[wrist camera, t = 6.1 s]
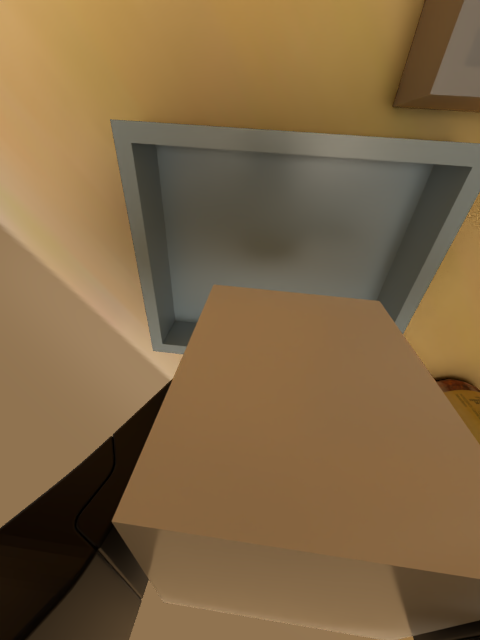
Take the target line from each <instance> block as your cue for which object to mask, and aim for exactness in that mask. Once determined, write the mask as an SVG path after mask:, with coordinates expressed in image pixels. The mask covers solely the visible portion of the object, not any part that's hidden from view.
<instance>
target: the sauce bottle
mask: <svg viewBox="0 0 480 640" xmlns="http://www.w3.org/2000/svg"><path fill="white" fill-rule="evenodd" d="M436 383H437V384H438V386H439V387H440V388H441V390H442V391H443V393H444V394H445V396H446V397H447V399H448V400H449V401H450V403H451V404H452V406H453V407H454V409H455V410H456V411H457V413H458V414H459V416H460V417H461V419H462V420H463V421H464V423H465V424H466V426H467V427H468V429H469V430H470V431H471V433H472V434H473V436H474V437H475V439H476V440H477V442H478V443H479V444H480V390H479V389H477V388H476V387H474V386H472V385H471V384H468V383H466V382H463V381H461V380H454V379H446V380H441V381H437V382H436Z"/></svg>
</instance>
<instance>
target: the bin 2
mask: <svg viewBox="0 0 480 640" xmlns="http://www.w3.org/2000/svg"><path fill="white" fill-rule="evenodd" d="M393 107H403V108H420V109H437V110H454V111H471V112H480V0H426V1H425V4H424V7H423V10H422V13H421V17H420V20H419V23H418V26H417V30H416V33H415V36H414V39H413V43H412V46H411V49H410V52H409V56H408V59H407V62H406V65H405V69H404V72H403V75H402V78H401V82H400V85H399V88H398V91H397V95H396V98H395V101H394V104H393Z"/></svg>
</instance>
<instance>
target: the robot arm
mask: <svg viewBox="0 0 480 640" xmlns="http://www.w3.org/2000/svg"><path fill="white" fill-rule="evenodd" d="M172 380H173V379H172ZM172 380H171V381H170V382H169V383H167V384H166V385H165V386H164V387H163V388H162V389H161V390H160V391H159V392H158V393H157V394H156V395H155V396H154V397H152V398H151V399H150V400H149V401H148V402H147V403H146V404H145V405H144V406H143V407H142V408H141V409H140V410H139V411H137V412H136V413H135V414H134V415H133V416H132V417H131V418H130V419H129V420H128V421H127V422H126V423H125V424H123V426H121V427H120V428H119V429H118V430H117V431H116V432H115V433H114V434H113V437H112V436H111V437H109V439H107V440H106V441H105V442H104V443H103V444H102V445H101V446H100V447H99V448H98V449H96V450H95V451H94V452H93V453H92V454H91V455H90V456H89V457H87V458H86V459H85V460H84V461H83V462H82V463H81V464H80V465H78V466H77V467H76V468H75V469H73V470H72V471H71V472H70V473H69V474H68V475H66V476H65V477H64V478H63V479H61V480H60V481H59V482H58V483H57V484H55V485H54V486H53V487H52V488H50V489H49V490H48V491H47V492H45V493H44V494H43V495H41V496H40V497H39V498H38V499H36V500H35V501H34V502H33V503H31V504H30V505H29V506H28V507H26V508H25V509H24V510H22V511H21V512H20V513H19V514H18V515H16V516H15V517H14V518H12V519H11V520H10V521H9V522H7V523H6V524H5V525H4V526H2V527H1V528H0V640H129V637H130V635H131V632H132V628H133V626H134V623H135V619H136V617H137V614H138V610H139V607H140V604H141V599H142V598H143V595H144V592H145V589H146V586H147V583H148V580H149V579H148V577H147V576H146V574H145V573H144V571H143V570H142V568H141V566H140V565H139V563H138V562H137V560H136V559H135V557H134V556H133V554H132V552H131V551H130V549H129V548H128V546H127V545H126V543H125V542H124V540H123V539H122V537H121V535H120V534H119V532H118V531H117V529H116V528H115V526H114V525H113V523H112V519H113V517H114V515H115V512H116V510H117V508H118V505H119V503H120V501H121V498H122V496H123V494H124V491H125V489H126V487H127V485H128V482H129V480H130V478H131V475H132V473H133V471H134V468H135V466H136V464H137V461H138V459H139V457H140V454H141V452H142V450H143V447H144V445H145V443H146V440H147V438H148V436H149V433H150V431H151V429H152V426H153V424H154V422H155V419H156V417H157V415H158V412H159V410H160V408H161V406H162V403H163V401H164V399H165V396H166V394H167V392H168V389H169V387H170V385H171V382H172ZM413 638H414V640H480V620H479V621H474V622H470V623H466V624H462V625H457V626H453V627H449V628H445V629H440V630H436V631H432V632H428V633H423V634H419V635H415V636H413Z"/></svg>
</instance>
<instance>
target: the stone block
mask: <svg viewBox="0 0 480 640" xmlns="http://www.w3.org/2000/svg"><path fill="white" fill-rule="evenodd" d="M112 523H113V525H114V526H115V528H116V529H117V531H118V532H119V534H120V535H121V537H122V539H123V540H124V542H125V543H126V545H127V546H128V548H129V549H130V551H131V552H132V554H133V556H134V557H135V559H136V560H137V562H138V563H139V565H140V566H141V568H142V570H143V571H144V573H145V574H146V576H147V577H148V579H149V580H150V582H151V583H152V585H153V587H154V588H155V590H156V591H157V593H158V594H159V596H160V597H161V599H162V601H163V602H166V603H171V604H177V605H183V606H189V607H195V608H200V609H207V610H212V611H218V612H224V613H229V614H236V615H241V616H247V617H253V618H258V619H264V620H270V621H276V622H282V623H287V624H294V625H299V626H305V627H311V628H316V629H322V630H328V631H334V632H340V633H345V634H351V635H357V636H363V637H369V638H375V639H381V640H398V639H402V638H406V637H411V636H415V635H419V634H423V633H428V632H432V631H436V630H440V629H445V628H449V627H453V626H457V625H462V624H466V623H470V622H474V621H479V620H480V444H479V443H478V442H477V440H476V439H475V437H474V436H473V434H472V433H471V431H470V430H469V429H468V427H467V426H466V424H465V423H464V421H463V420H462V419H461V417H460V416H459V414H458V413H457V411H456V410H455V409H454V407H453V406H452V404H451V403H450V401H449V400H448V399H447V397H446V396H445V394H444V393H443V391H442V390H441V388H440V387H439V386H438V384H437V383H436V381H435V380H434V378H433V377H432V376H431V374H430V373H429V371H428V370H427V368H426V367H425V366H424V364H423V363H422V361H421V360H420V358H419V357H418V356H417V354H416V353H415V351H414V350H413V348H412V347H411V345H410V344H409V343H408V341H407V340H406V338H405V337H404V335H403V334H402V333H401V331H400V330H399V328H398V327H397V325H396V324H395V323H394V321H393V320H392V318H391V317H390V315H389V314H388V313H387V311H386V310H385V308H384V307H383V305H382V304H381V302H380V301H375V300H365V299H354V298H344V297H334V296H324V295H314V294H304V293H294V292H284V291H274V290H264V289H254V288H244V287H234V286H224V285H213V287H212V289H211V292H210V294H209V296H208V299H207V301H206V303H205V306H204V308H203V310H202V313H201V315H200V317H199V320H198V322H197V324H196V327H195V329H194V331H193V333H192V336H191V338H190V340H189V343H188V345H187V347H186V350H185V352H184V354H183V357H182V359H181V361H180V364H179V366H178V368H177V371H176V373H175V375H174V378H173V380H172V382H171V385H170V387H169V389H168V392H167V394H166V396H165V399H164V401H163V403H162V406H161V408H160V410H159V412H158V415H157V417H156V419H155V422H154V424H153V426H152V429H151V431H150V433H149V436H148V438H147V440H146V443H145V445H144V447H143V450H142V452H141V454H140V457H139V459H138V461H137V464H136V466H135V468H134V471H133V473H132V475H131V478H130V480H129V482H128V485H127V487H126V489H125V491H124V494H123V496H122V498H121V501H120V503H119V505H118V508H117V510H116V512H115V515H114V517H113V519H112Z"/></svg>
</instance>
